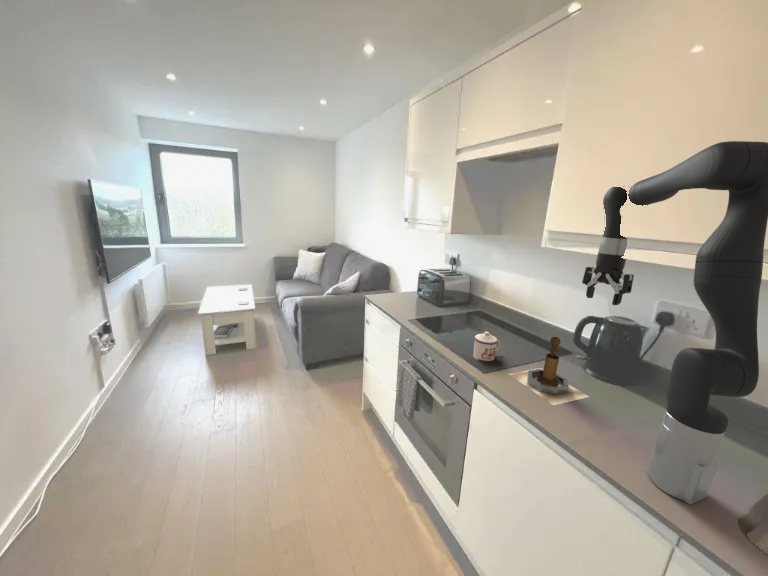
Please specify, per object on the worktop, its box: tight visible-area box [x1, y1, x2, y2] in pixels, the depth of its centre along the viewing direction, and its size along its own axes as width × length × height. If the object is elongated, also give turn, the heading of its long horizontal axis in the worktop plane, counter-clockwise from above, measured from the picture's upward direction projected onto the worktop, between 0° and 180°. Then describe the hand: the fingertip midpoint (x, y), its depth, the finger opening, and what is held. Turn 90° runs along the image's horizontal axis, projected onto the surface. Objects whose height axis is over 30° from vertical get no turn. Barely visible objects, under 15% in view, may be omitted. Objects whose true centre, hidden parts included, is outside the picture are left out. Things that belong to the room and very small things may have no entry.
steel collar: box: [527, 368, 569, 396], centre depth 108 cm, size 12×12×2 cm
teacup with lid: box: [472, 331, 501, 362], centre depth 127 cm, size 12×9×12 cm
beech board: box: [508, 367, 590, 406], centre depth 108 cm, size 20×16×1 cm
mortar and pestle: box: [537, 336, 561, 387], centre depth 106 cm, size 7×6×18 cm
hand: (601, 301), depth 101 cm, fingers open, 8 cm apart
